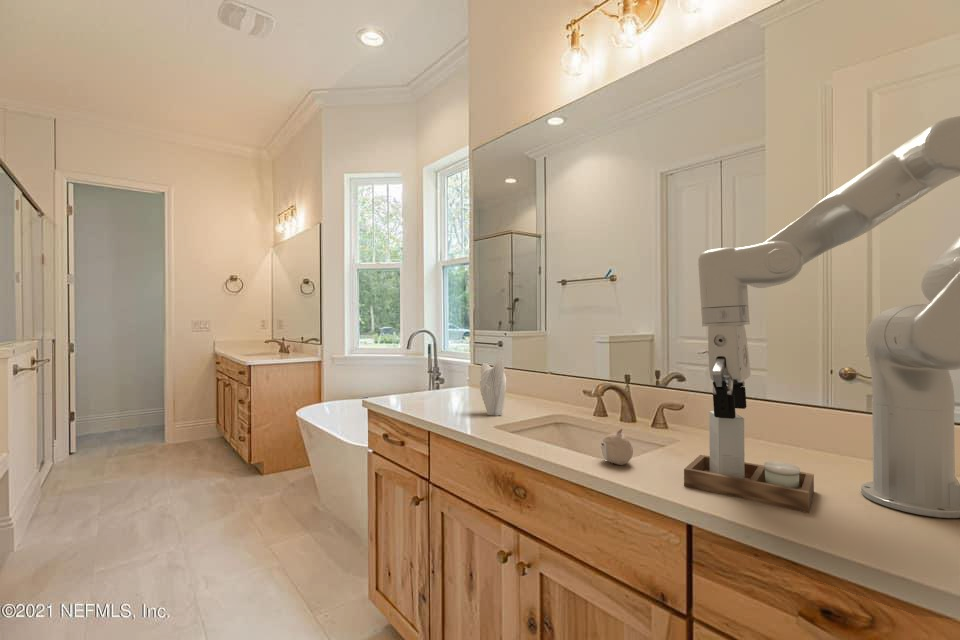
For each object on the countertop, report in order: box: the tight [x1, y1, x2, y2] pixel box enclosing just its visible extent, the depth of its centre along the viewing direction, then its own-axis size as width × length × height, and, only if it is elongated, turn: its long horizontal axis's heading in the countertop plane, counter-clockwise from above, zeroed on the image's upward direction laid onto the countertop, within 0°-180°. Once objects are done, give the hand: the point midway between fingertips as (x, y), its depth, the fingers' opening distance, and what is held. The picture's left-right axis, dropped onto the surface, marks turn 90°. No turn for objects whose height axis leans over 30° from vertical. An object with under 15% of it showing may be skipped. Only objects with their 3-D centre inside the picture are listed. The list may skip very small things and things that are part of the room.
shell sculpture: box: [479, 358, 507, 417], centre depth 143 cm, size 8×8×18 cm
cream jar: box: [763, 461, 801, 489], centre depth 76 cm, size 5×5×4 cm
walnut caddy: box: [683, 454, 815, 513], centre depth 79 cm, size 18×11×3 cm, turn 50°
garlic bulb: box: [600, 428, 634, 466], centre depth 94 cm, size 7×6×8 cm
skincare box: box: [708, 410, 745, 479], centre depth 81 cm, size 6×4×12 cm
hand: (731, 412), depth 81 cm, fingers open, 9 cm apart
